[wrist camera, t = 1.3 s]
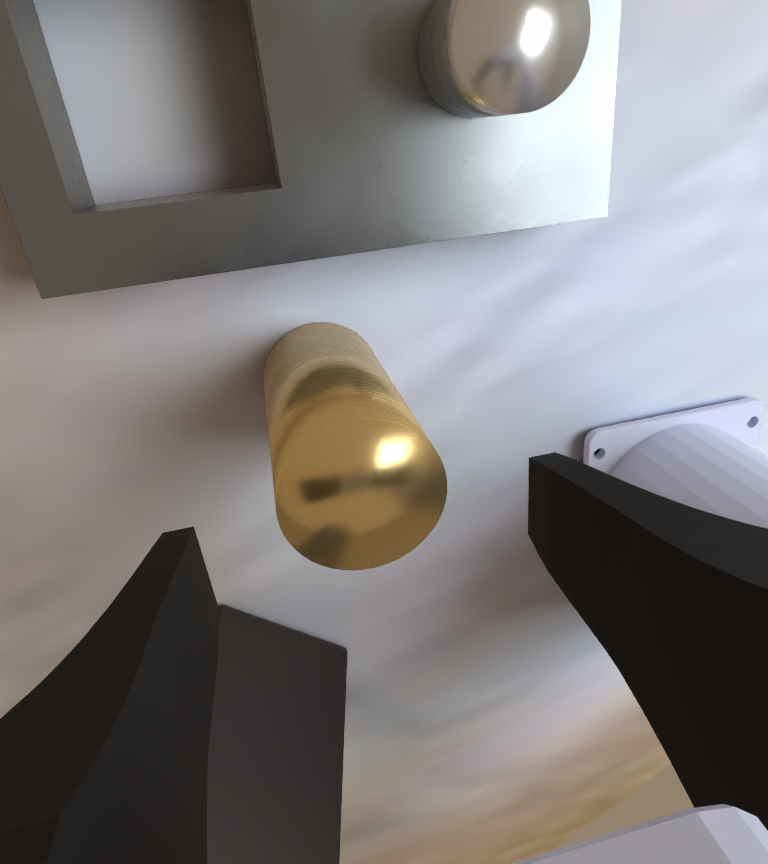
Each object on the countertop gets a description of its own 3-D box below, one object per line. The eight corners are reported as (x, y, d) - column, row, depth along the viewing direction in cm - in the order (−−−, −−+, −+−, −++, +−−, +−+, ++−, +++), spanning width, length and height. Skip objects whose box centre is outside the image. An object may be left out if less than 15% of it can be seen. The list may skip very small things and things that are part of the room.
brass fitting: (383, 419, 22) (451, 550, 15) (275, 439, 21) (292, 585, 14) (371, 313, 20) (442, 405, 13) (253, 332, 20) (259, 440, 12)
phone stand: (223, 600, 24) (210, 961, 13) (346, 644, 26) (417, 979, 16) (122, 747, 26) (41, 1156, 16) (244, 775, 29) (246, 1145, 18)
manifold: (567, 208, 20) (671, 229, 15) (66, 279, 18) (0, 330, 13) (579, -148, 16) (728, -276, 11) (-70, -117, 14) (-242, -261, 9)
